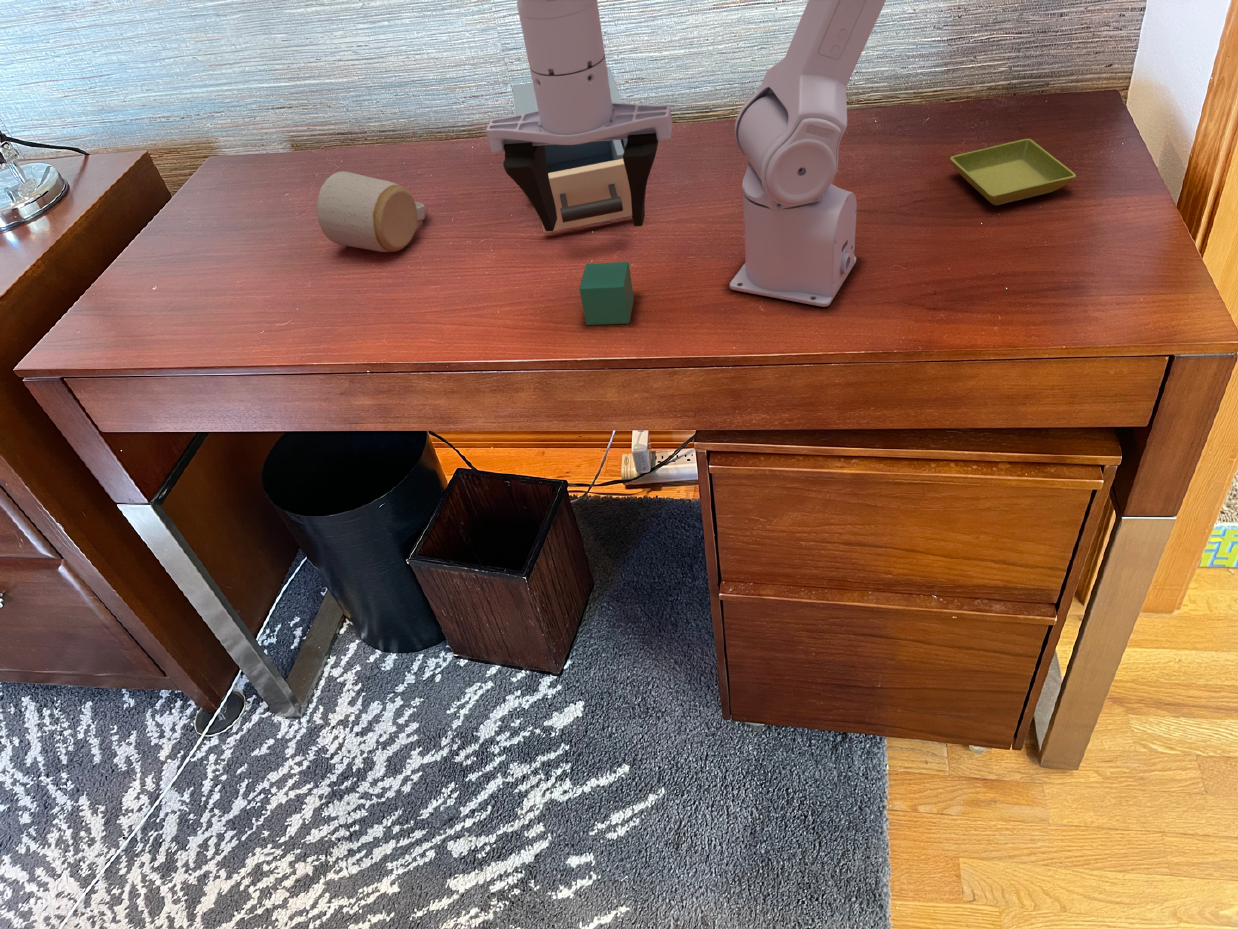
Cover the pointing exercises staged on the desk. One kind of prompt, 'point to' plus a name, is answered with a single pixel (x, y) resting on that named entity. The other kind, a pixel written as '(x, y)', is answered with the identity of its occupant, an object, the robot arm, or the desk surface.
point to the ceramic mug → (367, 212)
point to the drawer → (588, 183)
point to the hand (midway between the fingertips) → (595, 222)
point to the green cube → (607, 293)
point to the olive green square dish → (1012, 171)
